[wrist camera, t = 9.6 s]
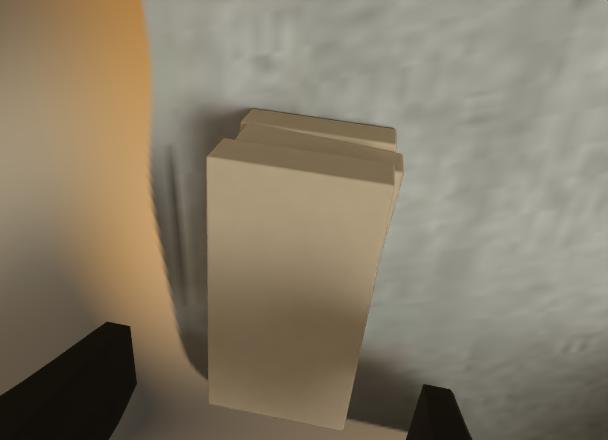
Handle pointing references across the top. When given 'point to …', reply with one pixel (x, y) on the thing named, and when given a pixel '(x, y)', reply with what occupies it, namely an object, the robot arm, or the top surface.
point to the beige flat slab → (290, 276)
